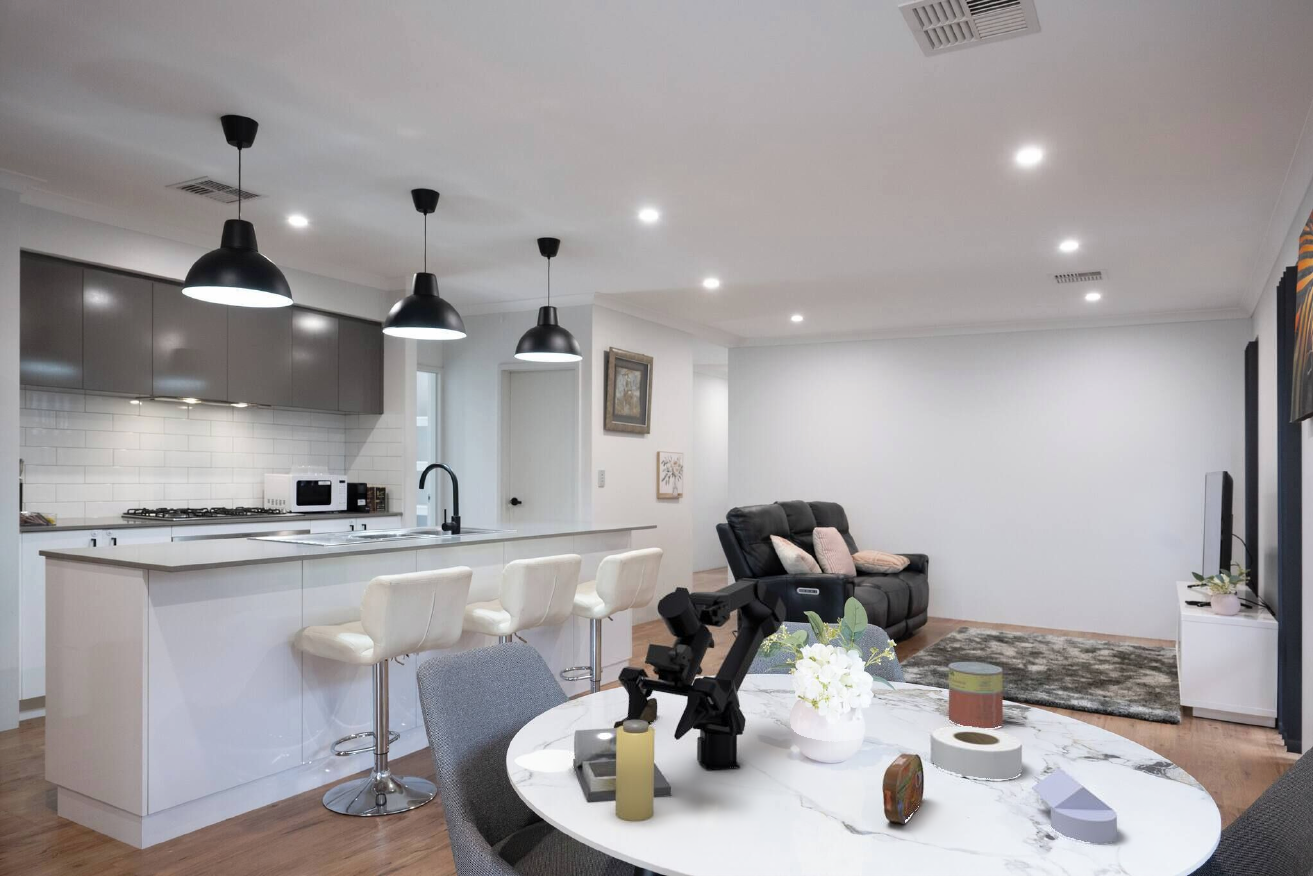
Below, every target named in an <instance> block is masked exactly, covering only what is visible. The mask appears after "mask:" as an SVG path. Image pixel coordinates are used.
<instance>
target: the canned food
mask: <svg viewBox="0 0 1313 876" xmlns="http://www.w3.org/2000/svg"><path fill="white" fill-rule="evenodd" d="M947 667H948V718H949V720H951V721H952V722H954V723H956V724H960V725H963V726H972V727H978V728H995V727H998V726H1002V724H1003V725H1004V720H1003V714H1004V712H1003V710H1004V709H1003V708H1004V707H1003V705H1004V704H1003V702H1004V701H1003V692H1004V691H1003V687H1004V686H1003V671H1004V669H1003V668H1002V667H1001V666H997V665H994V664H990V663H985V662H984V663H983V662H976V661H956V662H950V663H949V664H948V665H947ZM949 720H948V721H949Z"/></svg>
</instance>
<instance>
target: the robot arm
mask: <svg viewBox="0 0 1313 876" xmlns="http://www.w3.org/2000/svg"><path fill="white" fill-rule="evenodd" d="M656 609H657V612H658V614H659V616H660V617H661V619H662V621H663V623H664V625H665V627H666V628H667V630H668V631H669V633H670V635H672V636H673V637H675V640H674V642H673V643H672V644H673V645H672V646H668V645H660V644H655V643H654V644H653V643H649V644H648V649H647V653H646V657H645V659H644V660H645V661H644V664H646V665H650V666H652V667H653V669H652V672H653V673H654V674H655V675H657V676H658V677H657V678H652V677H649V675H648V673H647V671H645V669H644V668H640V667H635V666H628V665H627V666H624V667H623V668H622V669H621V671H620V673H619V675H618V677H617V679H618V681H619V682H620V683H621V685H622V687H623V688H624V689H625V691H626V693H627V695H628V708H627V716H626V717H627V721H628V720H638V719H639V718H640V716H641V714H642V713H643V711H644V710H645V708H646V706H647V705H648V703H649V701H648V699H649V698H650V697H651V696H652V694H653V692H658V693H659V692H660V693H666V694H670V695H677V696H682V697H687V699H686V706H685V708H684V710H683V712H682V715H681V717H680V719H679V721H678V723H677V726H676V729H675V730H674V739H675V740H676V741H678V740H680V739H681V738H682V737H683V736H685V735H686V734H687V733H688V732H689V731H691V730H692V729H693V730H699V736H697V739H696V740H697V741H696V742H697V743H696V744H697V745H696V748H697V751H696V753H697V754H696V759H697V761H698V762H699V763H700V765H702V767H703V768H704V769H705V770H708V771H709V770H710V771H714V770H725V769H737V768H738V769H739V768H741V765H740V763H739V762H738V757H737V756H738V736H742V735H743V734H744V731H745V727H746V717H745V715H744V714H743V712H742V710H741V708H740V707H741V705H740V700H739V694H738V692H739V690H740V687H741V685H742V683H743V682H744V679H745V678H746V677H747V675H748V672H749V669H750V667H751V666H752V664H753V662H754V660H755V658H756V656H757V654H758V652H759V650H760V648H761V645H762V644H763V642H764V640H766V639H767V638H769V637H771V636H773V635H775V634H777V632H778V630H779V629H780V628H781V626H782V624H783V623H784V622H785V620H786V616H787V609H786V606H785V604H784V602H783V600H782V599H781V597H780V596H779V595H778V594H776V593H775V592H774V591H773V590H772V589H770V588H768V587H767V586H766V584H765V582H764V580H761V579H756V578H745V577H743V578H739V579H737V581H736V582H733V583H732V584H731V583H730V585H727V586H725V587H722V588H720V589H718V590H716V591H695V592H694V591H693V592H690V591H689V589H688V588H687V587H680V586H677V587H675V590H674V591H672V592H670V593H668V594H666V595H665V596H663V598H661V599H659V601H658V603H657V608H656ZM736 610H738V611H739V612H740V616H741V621H742V626H741V628H740V630H739V632H738V634H737V635H736V637H735V639H734V641H733V643H732V644H731V647H730V649H729V650H728V652H727V654H726V655H725V658H724V660H723V662H722V663H721V665H720V668H719V669H718V671H717V672H716V675H715V676H714V677H712V676H707V675H704V676H703V677H697V678H696V676H697V675H699V676H701V675H702V672H703V668H702V666H701V664H702V662H703V659H704V657H705V655H706V653H707V650H708V649H714V648H715V640H714V638H713V633H712V632H711V631H710V629H709V627H713V628H714V627H715V628H722V627H723V626H724V625H725V624H727V622H729V620H730V619H731V613H732V612H735V611H736Z"/></svg>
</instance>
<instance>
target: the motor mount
mask: <svg viewBox="0 0 1313 876" xmlns="http://www.w3.org/2000/svg"><path fill="white" fill-rule="evenodd" d="M573 736H574V737H573V738H574V739H573V753H574V758H573V761H572V762H573V765H572V766H573V767H574V768H573V767H572V768H573V770H574V772H576V773H575V775H576V774H577V775H576V778H577V779H579V780H578V782H579V781H580V782H579V784H581V785H580V787H581V789H583V790H582V792H583V795H584V796H585V799H586V802H587V803H596V802H607V801H616V742H617V728H614V727H612V728H610V727H609V728H608V727H607V728H599V729H598V728H595V729H594V728H593V729H576V730H575V731H574V735H573ZM670 796H672V786H671V784H670V783H669V782H668V780H667V778H666V777H665V776H664V774H663V773H662V772H661V770H660V768H659V767H658V766H657V764H656V762H654V798H659V797H660V798H661V797H670ZM595 801H596V802H595Z"/></svg>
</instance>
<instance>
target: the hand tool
mask: <svg viewBox="0 0 1313 876" xmlns="http://www.w3.org/2000/svg"><path fill="white" fill-rule="evenodd" d="M647 700H648V701H649V703H648V705H647V706H646V708H645V710H644V711H643V713H642V714H641V716H640V718H639V719H638V720H643V721H646V722H653V721H654V720H655V721H656V719H657V716H658V700H657V698H656V697H651V698H650V697H649V698H647ZM625 721H627V716H626V717H625V718H623V719H621V720H618V721H614V725H613V728H618V727H620V726H623V722H625ZM655 721H654V722H655ZM654 722H653V723H654Z"/></svg>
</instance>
